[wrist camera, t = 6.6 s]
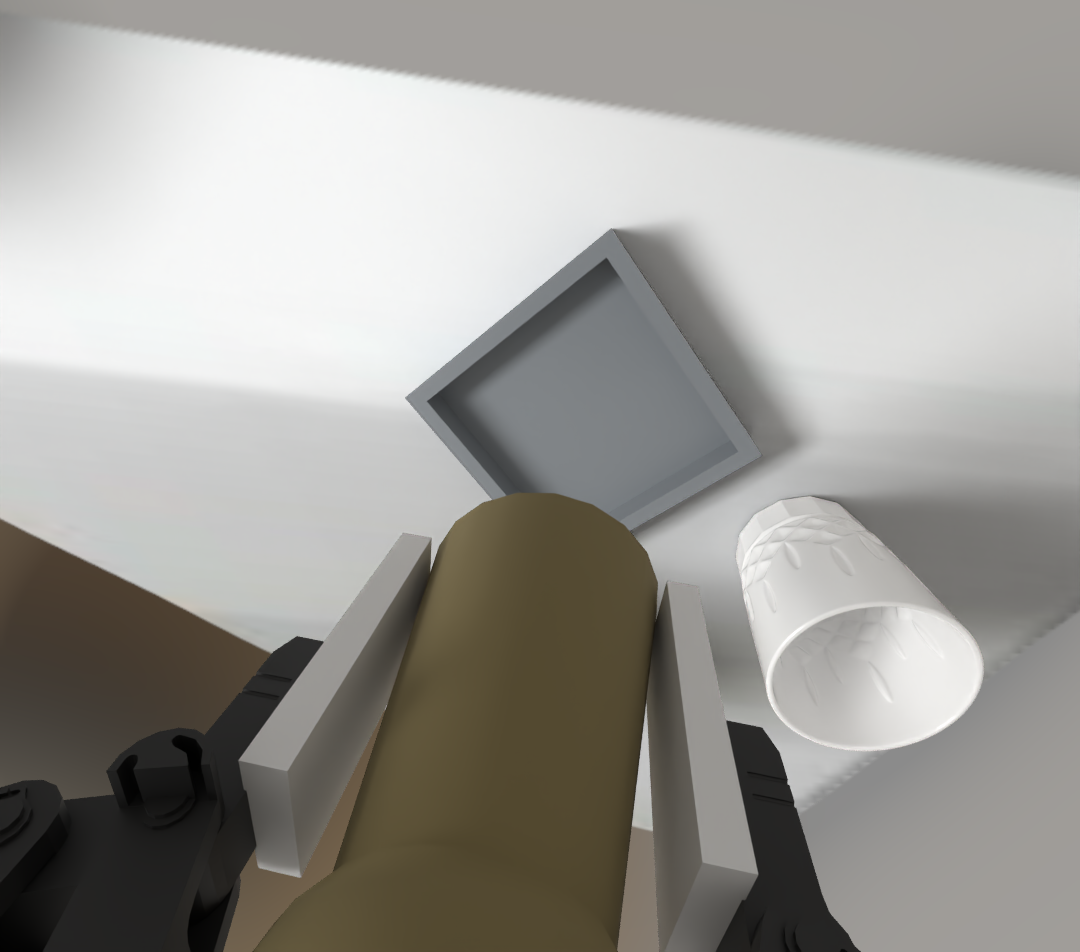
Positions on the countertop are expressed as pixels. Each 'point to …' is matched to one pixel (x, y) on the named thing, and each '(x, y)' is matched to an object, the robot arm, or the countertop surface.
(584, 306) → the tray
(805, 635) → the white cup
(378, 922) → the cork
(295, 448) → the countertop surface
